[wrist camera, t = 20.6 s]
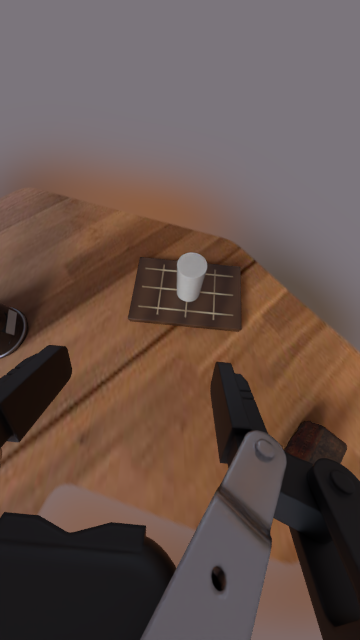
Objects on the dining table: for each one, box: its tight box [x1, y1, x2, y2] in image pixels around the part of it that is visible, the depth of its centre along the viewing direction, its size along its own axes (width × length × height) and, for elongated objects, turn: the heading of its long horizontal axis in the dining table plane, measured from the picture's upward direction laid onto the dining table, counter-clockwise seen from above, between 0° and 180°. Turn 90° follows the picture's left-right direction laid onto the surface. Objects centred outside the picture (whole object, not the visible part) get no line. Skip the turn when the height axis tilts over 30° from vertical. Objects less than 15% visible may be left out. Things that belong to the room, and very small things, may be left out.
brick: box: [285, 421, 347, 464], centre depth 25 cm, size 11×4×5 cm, turn 139°
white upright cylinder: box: [176, 253, 207, 302], centre depth 30 cm, size 4×4×8 cm
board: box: [128, 257, 241, 332], centre depth 34 cm, size 20×13×2 cm, turn 85°
